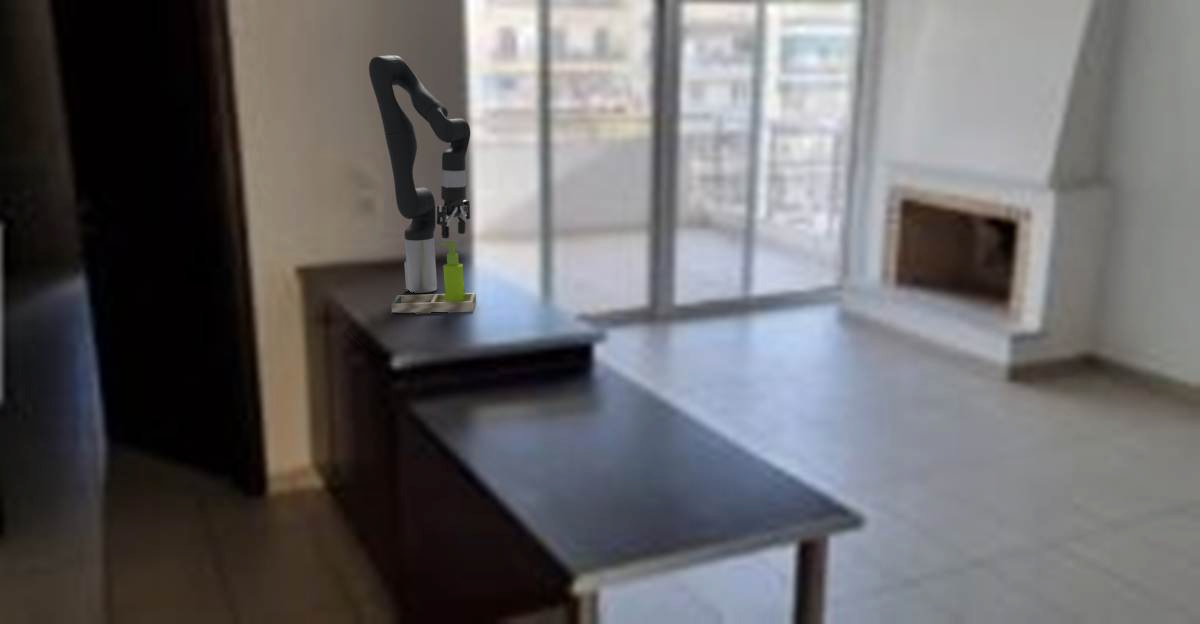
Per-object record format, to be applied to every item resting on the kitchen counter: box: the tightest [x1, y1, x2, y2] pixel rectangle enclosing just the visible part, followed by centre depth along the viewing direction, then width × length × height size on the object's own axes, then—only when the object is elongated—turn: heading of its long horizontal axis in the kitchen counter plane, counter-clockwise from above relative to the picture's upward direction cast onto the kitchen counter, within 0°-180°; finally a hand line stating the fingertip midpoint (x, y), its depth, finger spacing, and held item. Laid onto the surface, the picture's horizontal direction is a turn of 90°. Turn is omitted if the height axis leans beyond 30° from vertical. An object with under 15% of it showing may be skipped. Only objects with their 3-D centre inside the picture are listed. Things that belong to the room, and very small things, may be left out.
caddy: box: [390, 292, 477, 314], centre depth 315 cm, size 24×12×3 cm, turn 92°
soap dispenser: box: [438, 241, 466, 302], centre depth 313 cm, size 6×7×20 cm
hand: (453, 235), depth 326 cm, fingers open, 8 cm apart
